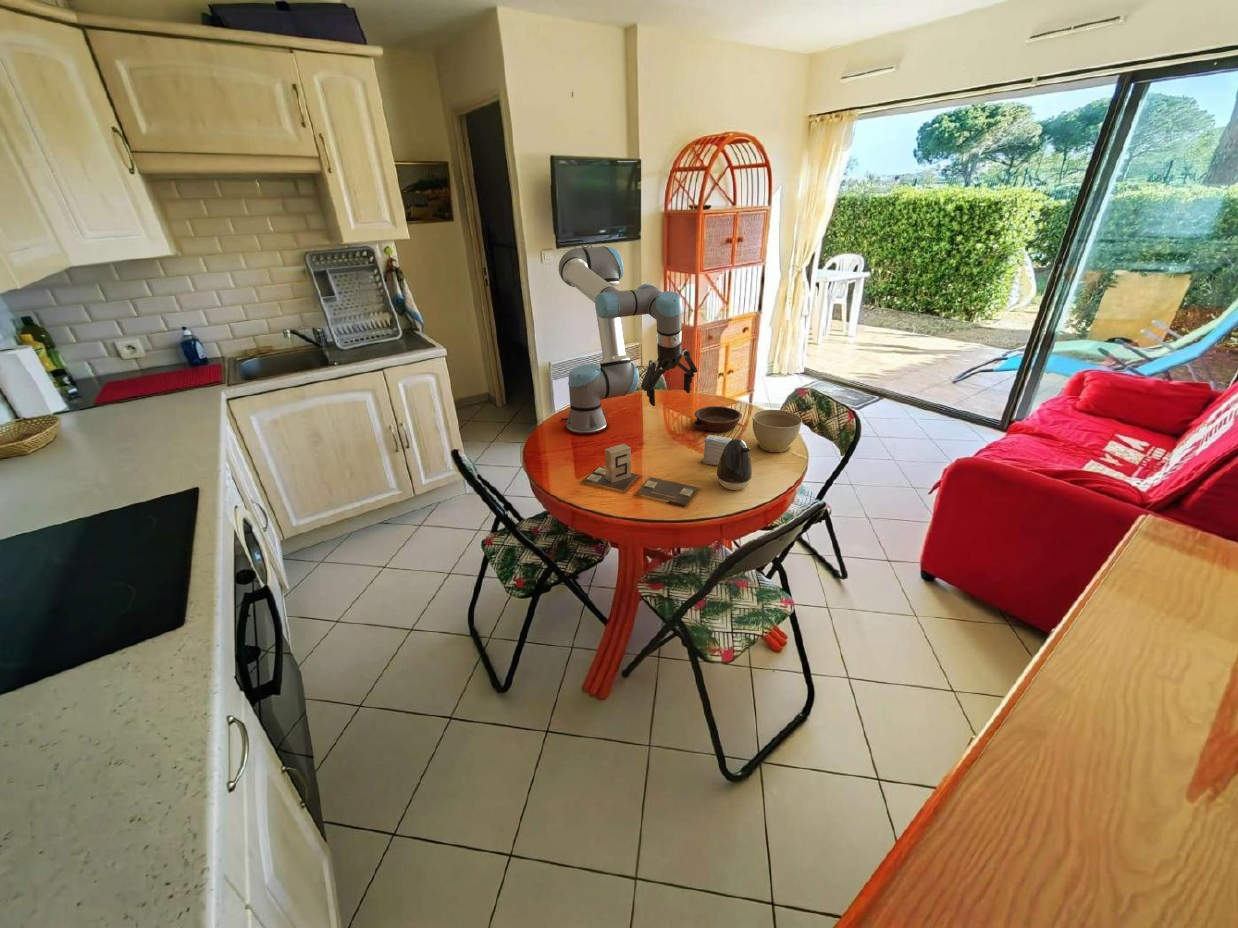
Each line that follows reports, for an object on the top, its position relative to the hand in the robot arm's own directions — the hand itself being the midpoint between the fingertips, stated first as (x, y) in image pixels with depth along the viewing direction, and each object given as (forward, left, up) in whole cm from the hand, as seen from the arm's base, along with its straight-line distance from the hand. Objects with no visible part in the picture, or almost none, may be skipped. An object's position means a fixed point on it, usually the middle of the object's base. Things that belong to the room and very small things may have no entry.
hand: (669, 397), depth 173 cm
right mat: (+12, -33, -17) cm, 39 cm away
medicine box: (+20, -8, -17) cm, 28 cm away
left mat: (-6, -33, -17) cm, 37 cm away
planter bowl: (+34, +12, -17) cm, 40 cm away
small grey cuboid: (-4, -32, -16) cm, 36 cm away
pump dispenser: (+29, -21, -17) cm, 40 cm away
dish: (+11, +23, -17) cm, 31 cm away
